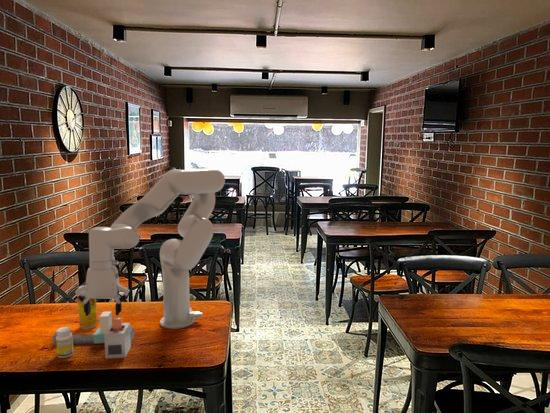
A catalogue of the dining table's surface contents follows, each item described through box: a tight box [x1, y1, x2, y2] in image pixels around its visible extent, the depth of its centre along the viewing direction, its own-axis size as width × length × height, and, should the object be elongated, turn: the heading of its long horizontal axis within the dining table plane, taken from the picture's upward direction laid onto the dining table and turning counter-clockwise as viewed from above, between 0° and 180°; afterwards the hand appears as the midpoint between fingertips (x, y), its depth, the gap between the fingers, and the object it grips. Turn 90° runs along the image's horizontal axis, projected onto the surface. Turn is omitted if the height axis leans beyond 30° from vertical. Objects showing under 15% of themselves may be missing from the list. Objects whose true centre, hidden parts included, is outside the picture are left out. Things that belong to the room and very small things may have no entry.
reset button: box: [112, 316, 123, 331], centre depth 138 cm, size 3×3×4 cm
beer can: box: [77, 284, 99, 330], centre depth 159 cm, size 6×6×15 cm
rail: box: [52, 325, 135, 347], centre depth 147 cm, size 25×5×4 cm, turn 96°
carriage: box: [93, 310, 113, 344], centre depth 147 cm, size 7×6×9 cm
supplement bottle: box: [55, 326, 75, 359], centre depth 138 cm, size 5×5×8 cm
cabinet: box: [104, 322, 132, 359], centre depth 139 cm, size 6×8×8 cm
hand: (103, 314), depth 146 cm, fingers open, 9 cm apart
